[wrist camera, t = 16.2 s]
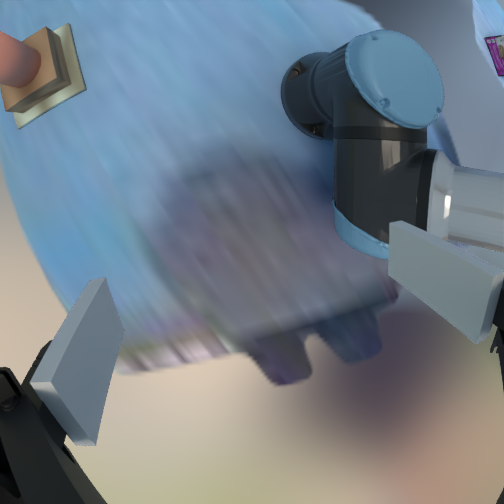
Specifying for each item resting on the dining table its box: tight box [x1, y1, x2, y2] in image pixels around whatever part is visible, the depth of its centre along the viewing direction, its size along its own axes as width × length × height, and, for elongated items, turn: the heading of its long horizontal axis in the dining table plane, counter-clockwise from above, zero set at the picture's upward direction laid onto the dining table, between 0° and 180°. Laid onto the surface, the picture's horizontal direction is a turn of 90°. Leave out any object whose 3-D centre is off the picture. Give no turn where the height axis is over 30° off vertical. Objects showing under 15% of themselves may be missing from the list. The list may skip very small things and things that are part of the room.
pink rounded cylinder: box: [0, 31, 41, 88], centre depth 23 cm, size 6×6×12 cm
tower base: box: [0, 23, 87, 129], centre depth 32 cm, size 14×14×7 cm
